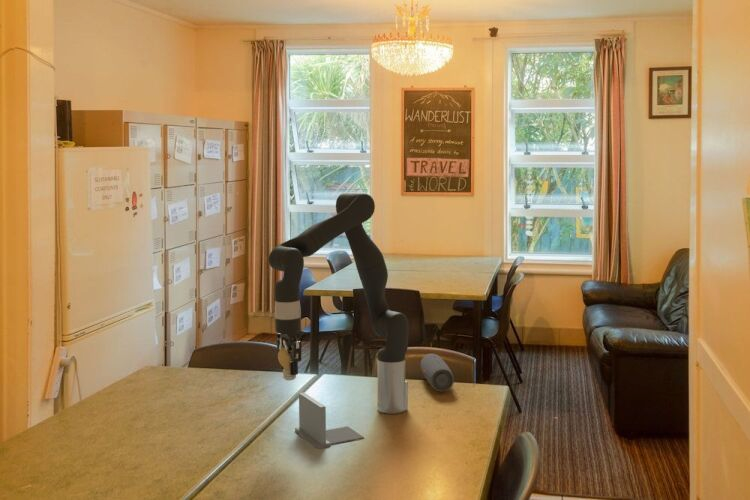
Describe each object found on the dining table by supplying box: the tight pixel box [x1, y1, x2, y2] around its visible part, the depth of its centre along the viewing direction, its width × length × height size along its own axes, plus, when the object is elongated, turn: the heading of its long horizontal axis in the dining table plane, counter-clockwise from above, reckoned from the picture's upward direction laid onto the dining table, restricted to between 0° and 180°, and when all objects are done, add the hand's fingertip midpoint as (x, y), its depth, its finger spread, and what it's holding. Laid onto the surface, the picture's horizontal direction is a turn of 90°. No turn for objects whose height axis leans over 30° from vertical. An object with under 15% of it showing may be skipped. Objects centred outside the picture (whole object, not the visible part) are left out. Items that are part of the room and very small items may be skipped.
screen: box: [294, 391, 331, 449], centre depth 237 cm, size 4×17×12 cm, turn 28°
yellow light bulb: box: [277, 347, 297, 381], centre depth 231 cm, size 6×6×10 cm
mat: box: [326, 425, 365, 446], centre depth 239 cm, size 11×11×1 cm
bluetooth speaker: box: [420, 353, 455, 392], centre depth 290 cm, size 23×9×10 cm, turn 6°
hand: (289, 371), depth 232 cm, fingers closed on yellow light bulb, 6 cm apart
